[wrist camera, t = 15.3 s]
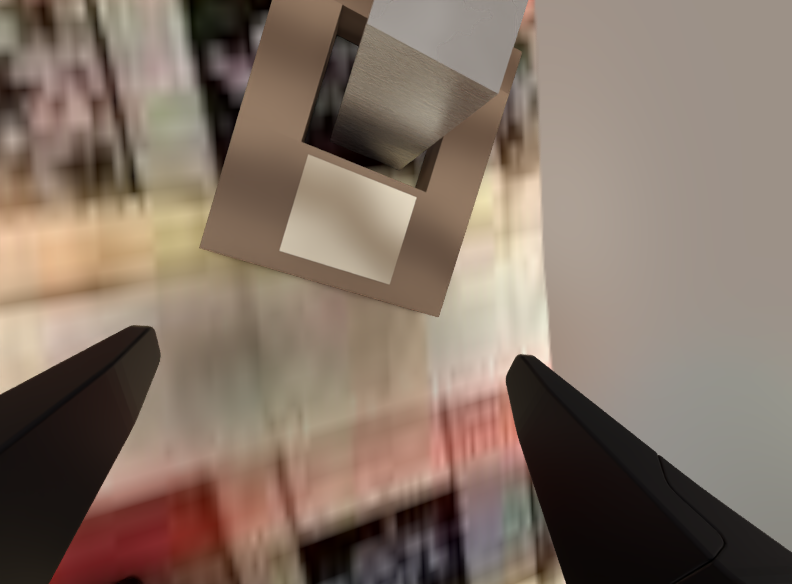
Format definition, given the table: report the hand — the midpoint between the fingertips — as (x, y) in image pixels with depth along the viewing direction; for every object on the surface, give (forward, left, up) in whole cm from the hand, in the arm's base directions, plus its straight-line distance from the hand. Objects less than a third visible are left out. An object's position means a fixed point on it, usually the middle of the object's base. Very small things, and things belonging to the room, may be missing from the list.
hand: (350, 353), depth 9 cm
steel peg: (+7, +9, -13) cm, 17 cm away
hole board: (+6, +7, -13) cm, 15 cm away
